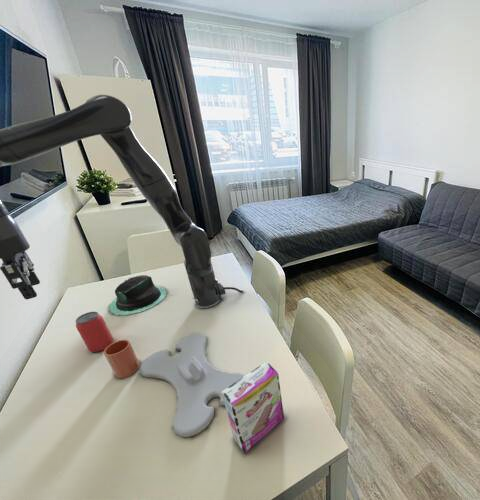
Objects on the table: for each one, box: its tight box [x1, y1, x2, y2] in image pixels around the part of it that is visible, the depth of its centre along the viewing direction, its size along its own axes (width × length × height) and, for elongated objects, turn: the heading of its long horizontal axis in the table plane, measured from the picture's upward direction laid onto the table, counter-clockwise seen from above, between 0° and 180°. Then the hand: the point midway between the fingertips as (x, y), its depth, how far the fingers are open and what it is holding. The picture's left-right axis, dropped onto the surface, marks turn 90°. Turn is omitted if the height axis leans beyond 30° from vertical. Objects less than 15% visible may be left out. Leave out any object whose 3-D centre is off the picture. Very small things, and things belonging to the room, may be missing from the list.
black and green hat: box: [109, 274, 167, 316], centre depth 113 cm, size 15×19×20 cm
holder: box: [139, 332, 245, 438], centre depth 77 cm, size 19×34×5 cm, turn 49°
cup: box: [103, 339, 141, 379], centre depth 79 cm, size 6×6×9 cm
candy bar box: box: [222, 361, 285, 454], centre depth 61 cm, size 11×5×16 cm, turn 136°
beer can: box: [75, 311, 114, 353], centre depth 87 cm, size 7×7×12 cm
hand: (33, 290), depth 72 cm, fingers open, 8 cm apart
